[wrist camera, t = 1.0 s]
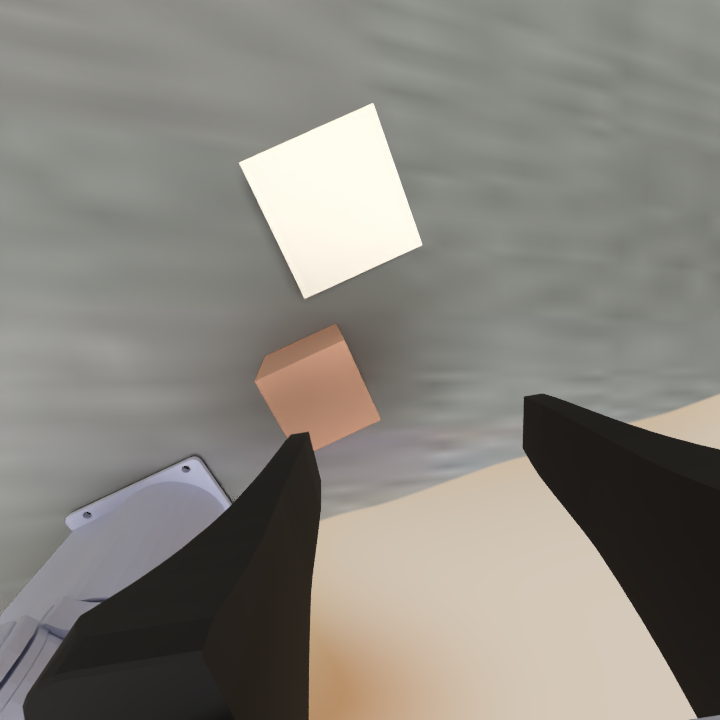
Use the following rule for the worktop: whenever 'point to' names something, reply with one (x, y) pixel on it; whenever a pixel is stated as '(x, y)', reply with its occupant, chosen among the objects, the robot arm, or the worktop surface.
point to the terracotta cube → (316, 388)
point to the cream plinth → (334, 200)
